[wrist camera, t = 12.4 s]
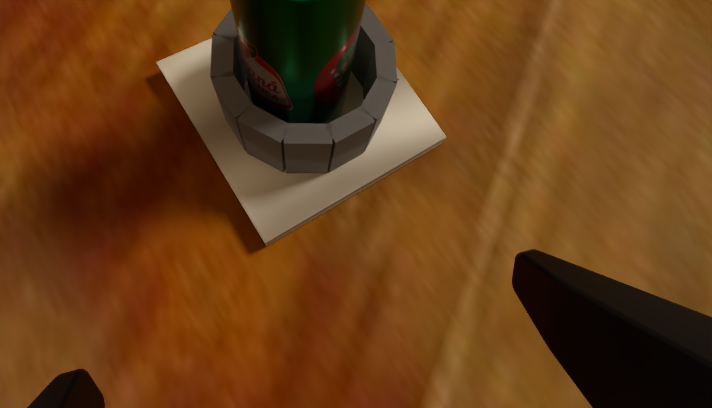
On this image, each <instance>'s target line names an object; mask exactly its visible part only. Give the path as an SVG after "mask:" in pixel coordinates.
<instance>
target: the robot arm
mask: <svg viewBox="0 0 712 408" xmlns="http://www.w3.org/2000/svg"><path fill="white" fill-rule="evenodd" d="M512 285H513V288H514V291H515V293H516V294H517V296H518V298H519V299H520V301H521V303H522V304H523V306H524V308H525V309H526V311H527V313H528V314H529V316H530V318H531V319H532V321H533V323H534V325H535V326H536V328H537V330H538V331H539V333H540V335H541V336H542V338H543V340H544V341H545V343H546V344H547V346H548V347H549V349H550V350H551V352H552V353H553V355H554V356H555V357H556V359H557V360H558V361H559V363H560V364H561V365H562V367H563V368H564V370H565V371H566V372H567V374H568V375H569V376H570V378H571V379H572V380H573V382H574V383H575V384H576V386H577V387H578V388H579V390H580V391H581V393H582V394H583V395H584V397H585V398H586V399H587V401H588V402H589V403H590V405H591V406H592V407H593V408H712V317H710V316H707V315H704V314H702V313H699V312H697V311H694V310H692V309H689V308H686V307H684V306H681V305H679V304H676V303H673V302H671V301H668V300H666V299H663V298H660V297H658V296H655V295H653V294H650V293H647V292H645V291H642V290H640V289H637V288H634V287H632V286H629V285H627V284H624V283H621V282H619V281H616V280H614V279H611V278H608V277H606V276H603V275H601V274H598V273H595V272H593V271H590V270H588V269H585V268H582V267H580V266H577V265H575V264H572V263H569V262H567V261H564V260H562V259H559V258H556V257H554V256H551V255H549V254H546V253H544V252H541V251H538V250H534V249H533V250H528V251H524V252H520V253H518V254H517V255H516V257H515V263H514V270H513V277H512ZM27 408H105V402H104V398H103V395H102V393H101V392H100V390H99V388H98V387H97V385H96V384H95V382H94V381H93V379H92V378H91V376H90V375H89V373H88V372H87V371H86V370H84V369H78V370H74V371H70V372H66V373H62V374H60V375H58V376H57V377H56V378H55V379H53V381H52V382H51V383H50V384H49V385H48V386H47V387H46V388H45V389H44V390H43V391H42V392H41V393H40V394H39V396H38V397H37V398H36V399H35V400H34V401H33V402H32V403H31V404H30V405H29V406H28V407H27Z"/></svg>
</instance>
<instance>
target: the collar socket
mask: <svg viewBox="0 0 712 408" xmlns="http://www.w3.org/2000/svg"><path fill="white" fill-rule="evenodd" d="M213 34H214V35H212V38H211V39H209V40H207V41H204V42H202V43H200V44H197V45H195V46H193V47H190V48H188V49H186V50H183V51H181V52H179V53H176V54H174V55H172V56H169V57H167V58H165V59H162V60H160V61H158V62H157V64H158V66H159V68H160V70H161V72H162V73H163V75H164V77H165V78H166V80H167V82H168V83H169V85H170V87H171V88H172V90H173V92H174V93H175V95H176V97H177V98H178V100H179V102H180V103H181V105H182V107H183V108H184V110H185V112H186V113H187V115H188V117H189V118H190V120H191V122H192V123H193V125H194V127H195V128H196V130H197V132H198V133H199V135H200V137H201V138H202V140H203V142H204V143H205V145H206V147H207V148H208V150H209V152H210V153H211V155H212V157H213V158H214V160H215V162H216V163H217V165H218V167H219V168H220V170H221V172H222V173H223V175H224V177H225V178H226V180H227V182H228V183H229V185H230V187H231V188H232V190H233V192H234V193H235V195H236V197H237V198H238V200H239V202H240V203H241V205H242V207H243V208H244V210H245V212H246V213H247V215H248V217H249V218H250V220H251V222H252V223H253V225H254V227H255V228H256V230H257V232H258V233H259V235H260V236H261V238H262V240H263V241H264V243H265V245H266V246H268V245H270V244H272V243H273V242H275V241H277V240H279V239H280V238H282V237H284V236H285V235H287V234H289V233H290V232H292V231H294V230H296V229H297V228H299V227H301V226H302V225H304V224H306V223H307V222H309V221H311V220H313V219H314V218H316V217H318V216H319V215H321V214H323V213H324V212H326V211H328V210H330V209H331V208H333V207H335V206H336V205H338V204H340V203H341V202H343V201H345V200H347V199H348V198H350V197H352V196H353V195H355V194H357V193H358V192H360V191H362V190H364V189H365V188H367V187H369V186H370V185H372V184H374V183H375V182H377V181H379V180H381V179H382V178H384V177H386V176H387V175H389V174H391V173H392V172H394V171H396V170H398V169H399V168H401V167H403V166H404V165H406V164H408V163H409V162H411V161H413V160H415V159H416V158H418V157H420V156H421V155H423V154H425V153H426V152H428V151H430V150H432V149H433V148H435V147H437V146H438V145H440V144H441V143H442V142H443V141H444V140H445V138H446V135H445V134H444V133H443V131H442V130H441V128H440V127H439V126H438V124H437V123H436V121H435V120H434V119H433V117H432V116H431V114H430V113H429V112H428V110H427V109H426V107H425V106H424V105H423V103H422V102H421V100H420V99H419V98H418V96H417V95H416V93H415V92H414V91H413V89H412V88H411V86H410V85H409V84H408V82H407V81H406V79H405V78H404V77H403V75H402V74H401V72H400V71H399V70H398V68H397V67H396V58H395V47H394V43H393V39H392V38H391V36H390V35H389V34H388V32H387V31H386V29H385V28H384V27H383V25H382V24H381V22H380V21H379V20H378V18H377V17H376V16H375V14H374V13H373V11H372V10H371V9H370V7H368V8H367V5H366V4H365V7H364V11H363V16H362V21H361V26H360V30H359V35H358V40H357V44H356V49H355V54H354V59H353V63H352V68H351V73H350V78H349V82H348V87H347V92H346V96H345V101H344V106H343V110H342V113H341V116H340V117H339V118H338V119H336V120H334V121H332V122H330V123H328V124H315V123H287V122H285V121H283V120H281V119H279V118H277V117H275V116H273V115H271V114H270V113H268V112H266V111H264V110H262V109H260V108H258V107H256V106H254V105H253V104H252V101H251V96H250V91H249V87H248V82H247V77H246V73H245V68H244V63H243V59H242V54H241V49H240V45H239V40H238V35H237V31H236V26H235V21H234V17H233V12H232V8H231V10H230V11H229V12H228V14H227V15H226V16H225V17H224V19H223V20H222V21H221V23H220V24H219V25H218V27H217V28H216V29H215V31H214V32H213Z"/></svg>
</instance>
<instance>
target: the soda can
mask: <svg viewBox="0 0 712 408" xmlns="http://www.w3.org/2000/svg"><path fill="white" fill-rule="evenodd" d="M365 2H366V0H230V3H231V7H232V12H233V17H234V21H235V26H236V31H237V35H238V40H239V45H240V49H241V54H242V59H243V63H244V68H245V73H246V77H247V82H248V87H249V91H250V96H251V101H252V104H253V105H254V106H256V107H258V108H260V109H262V110H264V111H266V112H268V113H270V114H271V115H273V116H275V117H277V118H279V119H281V120H283V121H285V122H287V123H315V124H328V123H330V122H332V121H334V120H336V119H338V118H339V117H340V116H341V113H342V110H343V106H344V101H345V96H346V92H347V87H348V82H349V78H350V73H351V68H352V63H353V59H354V54H355V49H356V44H357V40H358V35H359V30H360V26H361V21H362V16H363V11H364V7H365Z"/></svg>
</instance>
